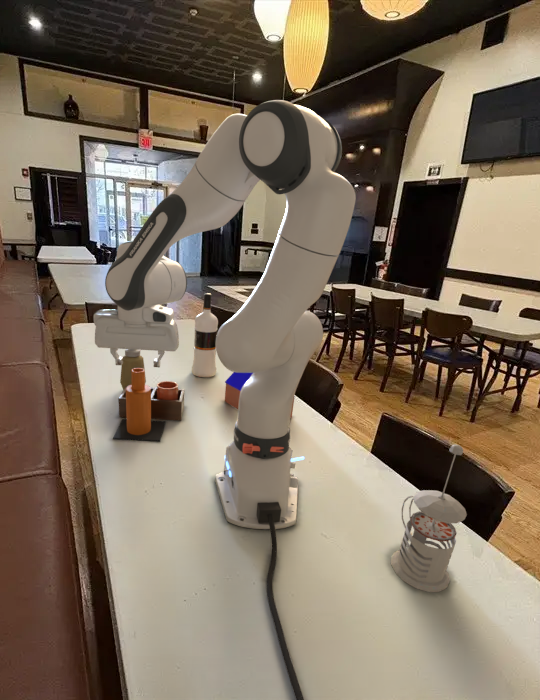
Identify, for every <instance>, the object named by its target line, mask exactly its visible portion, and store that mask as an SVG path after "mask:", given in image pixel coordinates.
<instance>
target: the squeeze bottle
mask: <svg viewBox="0 0 540 700" xmlns="http://www.w3.org/2000/svg"><path fill="white" fill-rule="evenodd" d="M122 357H123V360H122V361H123V364H122V365H120V366H121V367H120V378H119V379H120V380H119V381H120V382H119V383H120V386H121V388H122V389H123V390H124V388H125V386H129V385H132V374H131V370H132V369H134V368H142V369H144V370H145V371H146V369H145V361H144V357H143V356H142V355H141V350H136V349H124V355H123V356H122ZM146 378H147V377H146V376H145V384H146V382H147V379H146ZM123 390H122V391H123Z"/></svg>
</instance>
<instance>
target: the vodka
mask: <svg viewBox="0 0 540 700" xmlns="http://www.w3.org/2000/svg"><path fill="white" fill-rule="evenodd" d="M211 309H212V294H211V293H208V292H207V293H206V292H205V293H204V294H203V308H202V312H201V313H199V314H198V315H196V316H195V318H194V340H193V342H194V344H193V360H192V366H191V373H192V374H193V375H194V376H196V377H199V378H212V377H214V376H215V375H216V374H217V365H216V355H217V351H216V336H217V333H218V330H219V328H218V325H219V319H218V318H217V316H216V315H215V314H213V312H212V311H211Z"/></svg>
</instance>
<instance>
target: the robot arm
mask: <svg viewBox="0 0 540 700" xmlns="http://www.w3.org/2000/svg"><path fill="white" fill-rule="evenodd" d="M342 154H343V146H342V140H341V137H340V135H339V133H338V131H337V129H336V127H335V126H334V124H332V123H331V122H330V121H329V120H327V119H326V118H323V117H321V116H320V115H318V114H317V113H316V112H315V111H313V110H311V109H310V108H307V107H305V106H302V105H299V104H294V103H292V102H290V101H288V100H283V99H273V100H268V101H264V102H262V103H259V104H258V105H256V106H255V107H253V108H252V109H251V110H250V111H249V112H248V114H243V113H233V114H231V115H228V116H227V117H226V118H225V119H224V120H223V121H222V122H221V123H220V125H219V126H218V127H217V128H216V130H215V131H214V133H212V135H211V137H210V138H209V139H208V141H207V142H206V144H205V145H204V147H203V149H202V150H201V152H200V153H199V155H198V157H197V159H196V160H195V162H194V164H193V166H192V167H191V169H190V170H189V172H188V174H187V175H186V176H185V178H184V179H183V180H182V182H180V184H179V185H178V186H177V187H176V188H175V189H174V190H173V191H172V192H171V193H170V194H169V195H167V196H166V197H164V199H162V201H160V202H159V203H158V204H157V205H156V206H155V208H154V210H153V211H152V212H151V213H150V215H149V216H148V218H147V219H146V220H145V222H144V223H143V225H142V227H141V228H140V230H139V231H138V233H137V234H136V235H135V237H134V238H133V240H129V241H124V242H121V243H120V244H119V245H118V247H117V252H116V260H115V261H113V263H112V264H111V265H110V266H109V268H108V270H107V273H106V275H105V280H104V287H105V291H106V293H107V295H108V297H109V299H111V301H112V302H113V303H114V304H115V305H116V306H117V309H103V308H102V309H99V310H96V311H95V312H94V314H93V324H94V326H95V328H94V344H95V345H96V347H97V348H100V349H109V351H110V355H111V356H112V357H113V358H114V361H115V363H114V365H115V366H122V364H123V361H122V360H123V356H120V355H119V353H118V352H117V351H118V350H121V349H122V350H125V349H136V350H140V351H157V355H159V356H158V357H157V358H154V359H153V368H161V360H162V358H163V357H164V355H165V353H166V352H176V351H177V350H178V348H179V346H180V336H179V328H178V325H177V322H176V321H175V320H174V318H175V311H174V310H173V309H172V308H169V307H167V306H164V304H173V303H174V302H178V301H180V300H182V299H183V297H184V296H185V295H186V291H187V288H188V278H187V273H186V270H185V269H184V267H183V266H182V264H180V262H178V261H176V260H172V259H170V258H168V257H167V256H165V255H166V253H167V252H168V251H169V249H170V248H171V247H172V246H173V245H174V244H176V243H178V241H181V240H183V239H185V238H188V237H190V236H193V235H196V234H199V233H203V232H207V231H208V232H209V231H213V230H217V229H219V228H223V227H224V226H225V225H227V223H229V222H230V220H232V219H233V218H234V217H235V216H236V215H237V214H238V213H239V211H240V210H241V208H242V207H243V205H244V203H245V202H246V200H247V199H248V197H249V195H250V194H251V193H252V191H253V190H254V188H255V186H256V185H257V184H258V183H259V182H260V181H261V182H263V183H264V184H265V185H266V186H267V187H268V188H269V189H270V190H271V191H272V192H273V193H275V194H276V195H284V196H285V200H286V208H285V212H284V216H283V219H282V221H281V224H280V227H279V230H278V232H277V236H276V239H275V242H274V245H273V247H272V250H271V252H270V256H269V258H268V262H267V264H266V267H265V269H264V272H263V274H262V276H261V278H260V280H259V281H258V283H257V285H256V286H255V288H254V289H253V291H252V293H251V294H250V295H249V297H248V298H247V300H246V301H245V302H244V303H243V305H242V306H241V308H240V309H239V310H238V311H237V312H236V313H235V314H233V315H232V317H230V318H229V319H228V320H227V321H225V322H224V323H223V324H221V326H220V327H219V328H218V329H217V336H216V355H217V358H218V359H219V361H220V362H221V364H222V365H223V366H224V367H225V368H226V369H227V370H228V371H230V372H232V373H233V372H236V373H253V374H252V375H251V377H250V378H249V379H248V381H247V382H246V383H245V384H244V385H243V387H242V389H241V391H240V396H239V407H238V409H237V420H236V421H235V424H234V429H233V441H232V442H231V443H230V444H228V445H227V446H226V448H225V455H224V456H223V458H224V466H223V471H221V472H219V473H217V474H215V477H214V482H215V485H216V490H217V492H218V495H219V499H220V502H221V506H222V509H223V512H224V516H225V519H226V521H227V522H229V523H230V524H232V525H235V526H238V527H242V528H247V529H255V530H269V531H270V543H271V544H270V545H271V553H270V560H269V561H270V562H269V567H268V570H267V574H266V596H267V603H268V606H269V610H270V613H271V614H270V615H271V618H272V621H273V625H274V629H275V631H276V632H275V633H276V636H277V640H278V643H279V648H280V652H281V655H282V658H283V661H284V665H285V668H286V672H287V675H288V677H289V681H290V685H291V687H292V691H293V694H294V698H295V700H305V698H304V695H303V692H302V689H301V686H300V683H299V680H298V677H297V673H296V670H295V668H294V664H293V661H292V658H291V655H290V651H289V648H288V645H287V641H286V638H285V637H286V636H285V633H284V630H283V626H282V623H281V620H280V616H279V613H278V609H277V606H276V602H275V601H276V600H275V597H274V589H273V588H274V586H273V581H274V574H275V568H276V564H277V557H278V541H277V540H278V539H277V532H276V531H277V530H279V529H280V530H281V529H285V528H289V527H292V526H295V525H296V524H297V518H298V497H299V495H298V494H299V477H297V476H295V475H294V473H291V469H292V470H293V469H296V462H298V461H304V460H305V456H299V457H293V452H294V449H292V447H290V442H291V427H290V423H291V418H290V416H291V409H292V403H293V399H294V400H295V397H294V396H295V395H296V391H297V388H298V387H299V384H300V381H301V379H302V376H303V374H304V372H305V369H306V367H307V366H308V363H309V362H310V360H311V358H312V356H313V355H314V354H315V353H316V351H318V349H319V348H320V347H321V344H322V343H323V339H324V328H323V325H322V321H321V320H320V318H319V317H318V316H317V315H316V314H315V313H313V312H312V311H309V310H308V309H309V308H310V307H311V306H312V305H313V304H315V303H317V301H318V300H319V299H320V297H321V296H322V295H323V293H324V291H325V289H326V286H327V284H328V283H329V282H328V281H329V279H330V276H331V274H332V272H333V270H334V268H335V265H336V263H337V260H338V258H339V256H340V254H341V251H342V249H343V247H344V243H345V241H346V237H347V234H348V232H349V229H350V226H351V221H352V218H353V214H354V209H355V205H356V200H357V199H356V197H357V196H356V195H357V194H356V191H355V189H354V187H353V184H351V183H350V182H349V181H348V179H347V178H345V177H344V176H342V175H341V174H339V173H337V172H336V171H337V169H338V167H339V165H340V163H341V159H342Z"/></svg>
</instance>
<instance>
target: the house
mask: <svg viewBox="0 0 540 700" xmlns="http://www.w3.org/2000/svg"><path fill="white" fill-rule="evenodd" d="M252 374H253V373H236V372H232V373H231V374H230V375H229V376H228V377H227V379H226V380H225V381H224V383H225V390H224V391H225V393H224V402H225V403H226V404H228V405H230V406H231V407H233V408H235V409H236V410H238V407H239V396H240V391H241V389H242V387H243V385H244V384H245V383H246V382H247V381H248V379H249V378H250V377H251V375H252ZM295 398H296V396H295V395H294V399H293V403H292V409H291V416H290V419H291V418H292V417H293V410H294V404H295Z"/></svg>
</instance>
